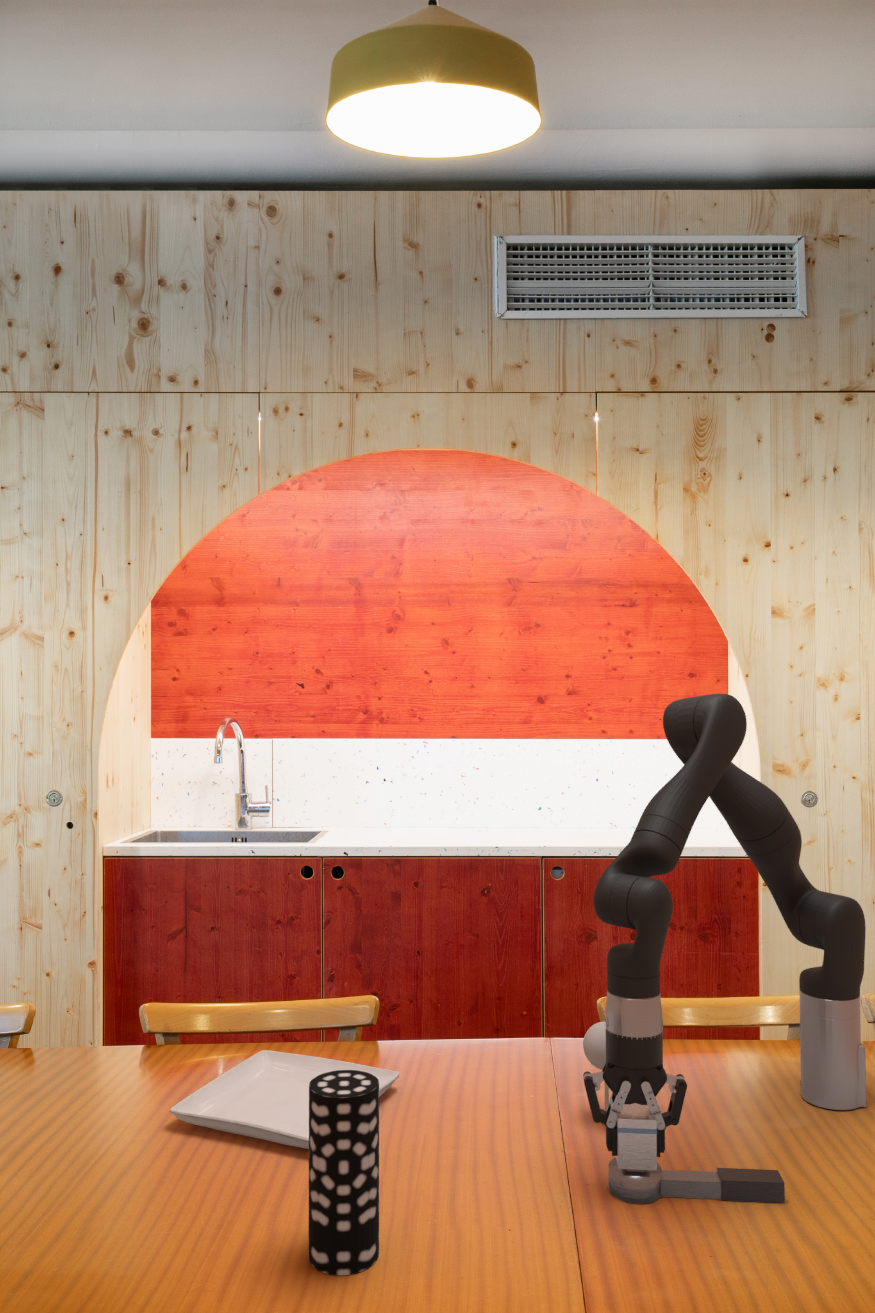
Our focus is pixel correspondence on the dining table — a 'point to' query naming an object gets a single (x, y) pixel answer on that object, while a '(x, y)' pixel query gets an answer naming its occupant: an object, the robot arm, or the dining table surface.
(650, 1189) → the ratchet
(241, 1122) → the square plate
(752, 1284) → the dining table surface
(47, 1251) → the dining table surface
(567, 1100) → the dining table surface
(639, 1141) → the silver block
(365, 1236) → the spotted tube
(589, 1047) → the lollipop
